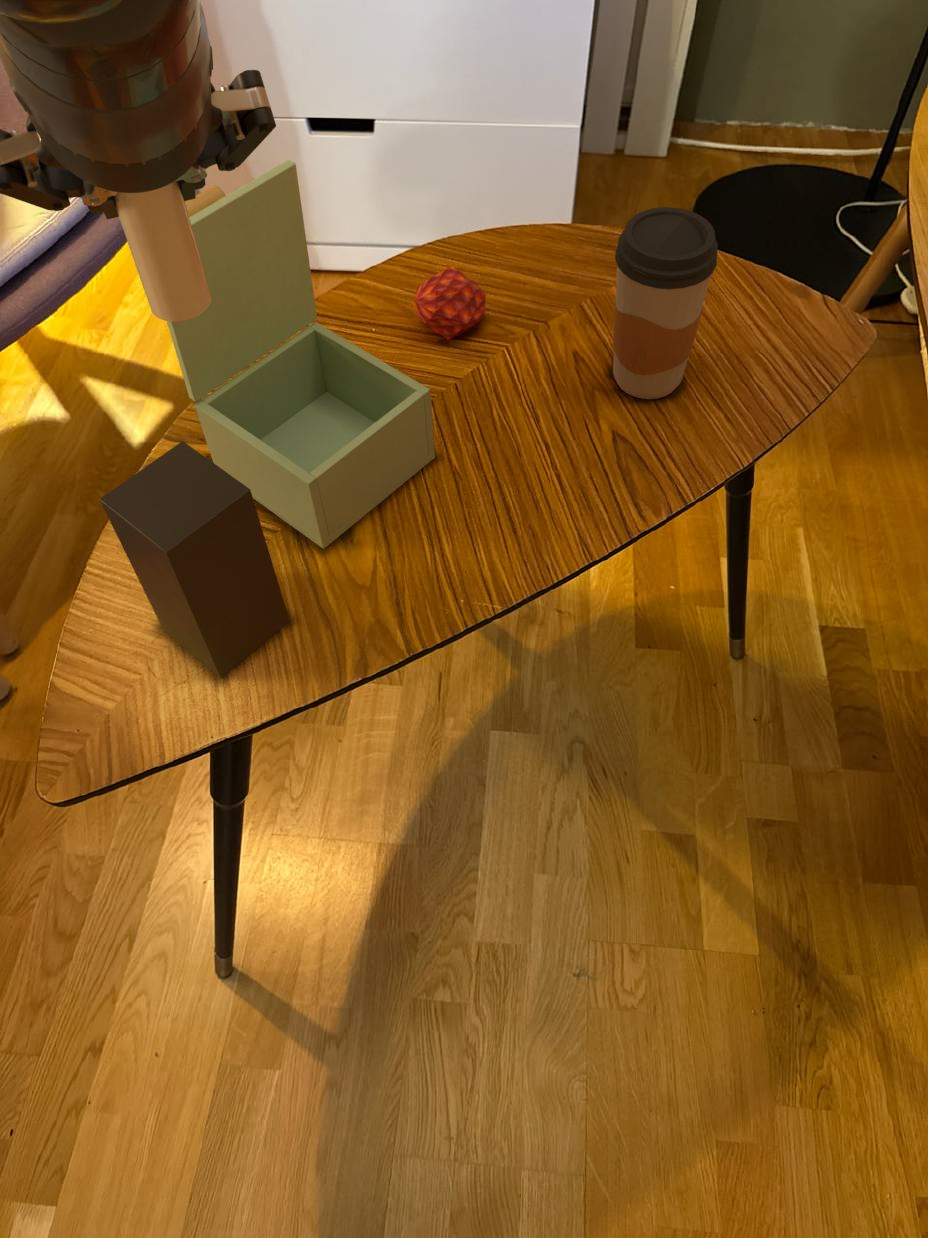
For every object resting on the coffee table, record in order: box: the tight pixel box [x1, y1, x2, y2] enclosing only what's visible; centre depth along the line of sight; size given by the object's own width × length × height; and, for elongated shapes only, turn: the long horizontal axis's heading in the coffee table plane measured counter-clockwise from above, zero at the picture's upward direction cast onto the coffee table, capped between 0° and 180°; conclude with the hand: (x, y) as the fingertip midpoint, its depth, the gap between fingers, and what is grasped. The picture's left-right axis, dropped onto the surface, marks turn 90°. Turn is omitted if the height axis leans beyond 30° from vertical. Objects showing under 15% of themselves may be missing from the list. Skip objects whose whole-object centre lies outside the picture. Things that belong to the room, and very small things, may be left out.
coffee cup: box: [612, 206, 719, 400], centre depth 86 cm, size 8×8×15 cm
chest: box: [193, 321, 436, 550], centre depth 83 cm, size 14×14×8 cm
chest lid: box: [166, 159, 318, 403], centre depth 77 cm, size 14×14×5 cm
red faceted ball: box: [414, 265, 487, 341], centre depth 95 cm, size 6×7×8 cm
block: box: [99, 440, 291, 680], centre depth 71 cm, size 7×7×15 cm
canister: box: [112, 180, 211, 322], centre depth 54 cm, size 4×4×10 cm
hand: (144, 190), depth 55 cm, fingers closed on canister, 3 cm apart
